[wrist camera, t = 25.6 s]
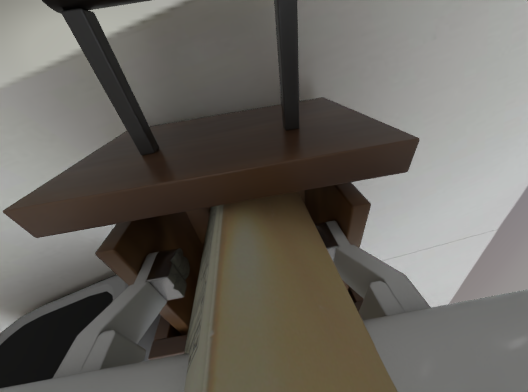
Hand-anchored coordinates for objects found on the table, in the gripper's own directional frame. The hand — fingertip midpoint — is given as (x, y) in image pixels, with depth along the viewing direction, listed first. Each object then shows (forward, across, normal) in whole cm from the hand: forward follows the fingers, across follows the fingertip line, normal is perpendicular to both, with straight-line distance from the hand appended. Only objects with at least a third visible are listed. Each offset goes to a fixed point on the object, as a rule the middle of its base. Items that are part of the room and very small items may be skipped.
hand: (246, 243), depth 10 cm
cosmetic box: (+5, 0, 0) cm, 5 cm away
